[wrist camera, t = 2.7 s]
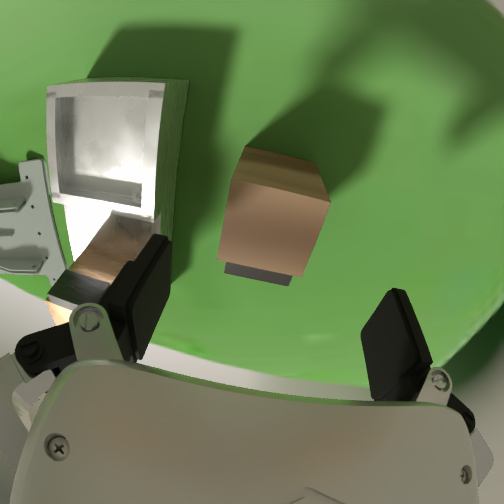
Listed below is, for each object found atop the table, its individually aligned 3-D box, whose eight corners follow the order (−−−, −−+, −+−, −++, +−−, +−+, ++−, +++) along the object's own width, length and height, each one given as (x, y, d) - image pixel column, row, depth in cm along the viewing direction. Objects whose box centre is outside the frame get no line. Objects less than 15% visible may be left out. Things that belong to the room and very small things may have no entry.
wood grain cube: (245, 145, 17) (231, 178, 12) (315, 162, 17) (331, 202, 12) (230, 217, 20) (215, 270, 15) (292, 231, 20) (297, 288, 16)
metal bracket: (-13, 294, 22) (-55, 183, 13) (4, 264, 26) (-26, 160, 17) (79, 300, 25) (45, 165, 17) (90, 265, 30) (70, 143, 21)
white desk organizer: (85, 78, 14) (-13, 104, 7) (189, 80, 14) (114, 92, 7) (95, 264, 24) (48, 335, 17) (170, 284, 24) (137, 369, 17)
